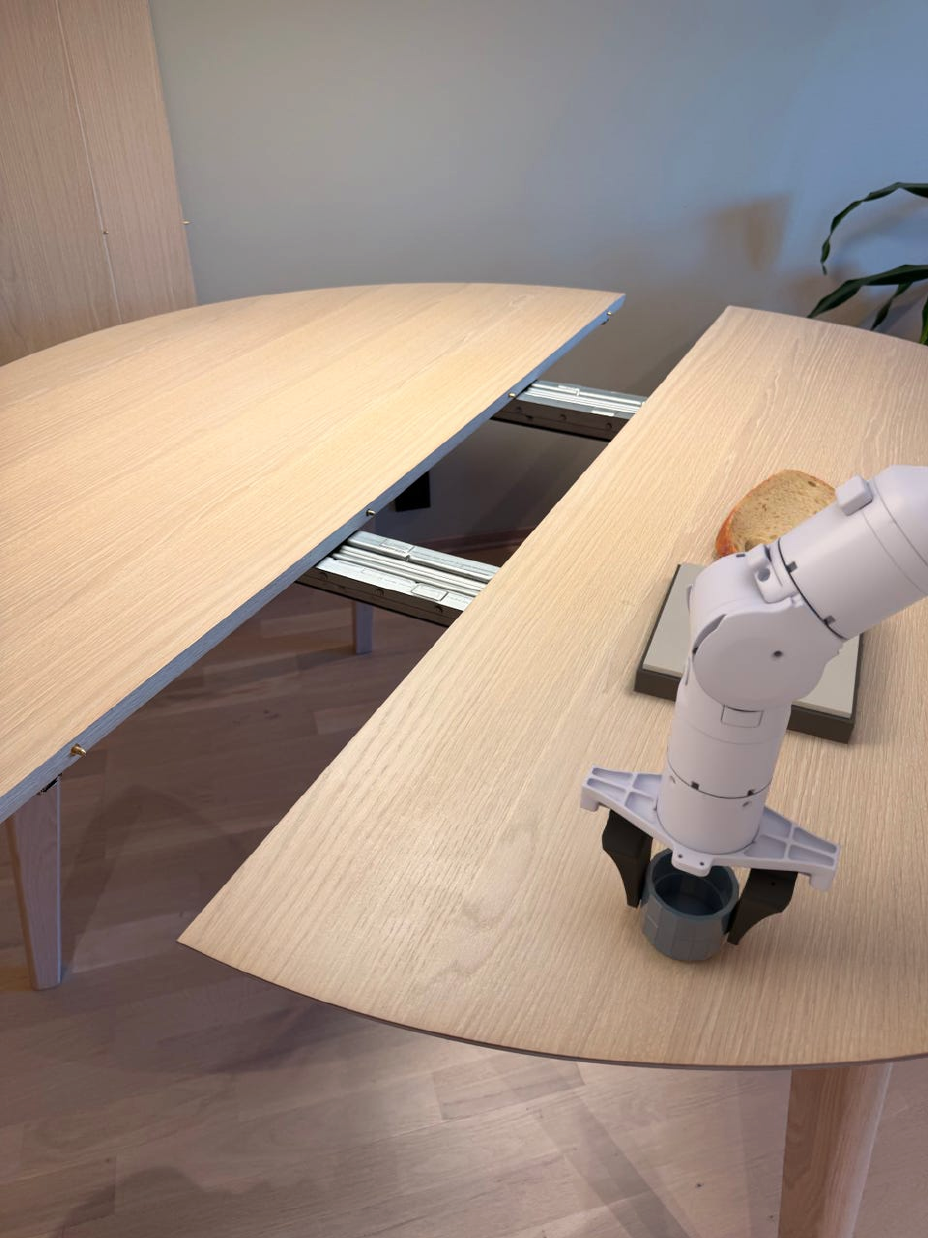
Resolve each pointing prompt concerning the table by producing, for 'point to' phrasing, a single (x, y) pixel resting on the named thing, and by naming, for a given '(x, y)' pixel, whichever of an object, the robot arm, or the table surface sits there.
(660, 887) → the cup
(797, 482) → the slice of bread
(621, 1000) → the table surface
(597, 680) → the table surface
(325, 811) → the table surface
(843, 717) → the scale
